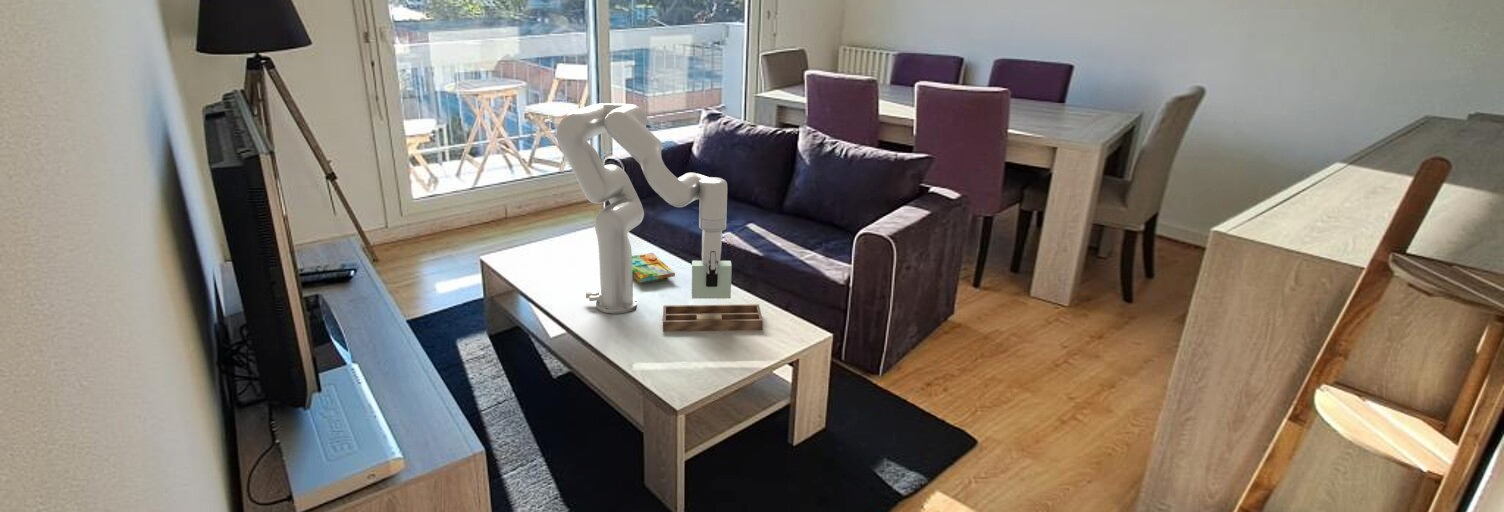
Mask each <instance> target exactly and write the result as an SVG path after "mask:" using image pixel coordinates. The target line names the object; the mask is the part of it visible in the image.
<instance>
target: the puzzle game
mask: <svg viewBox="0 0 1504 512" xmlns="http://www.w3.org/2000/svg"><path fill="white" fill-rule="evenodd" d="M672 277H673V278H675V277H676V272H674V271H673V270H672V269H671V268H670V267H669V266H667V264H666V263H664V262H663V261H662V260H661V259H660V258H659V257H658V256H657V255H656V254H655V253H654V252H649V253H643V254H636V255H632V278H633V279H635V281H637V282H638V283H639V284H646V283H652V282H659V281H665V280H668V279H669V278H672Z"/></svg>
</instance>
